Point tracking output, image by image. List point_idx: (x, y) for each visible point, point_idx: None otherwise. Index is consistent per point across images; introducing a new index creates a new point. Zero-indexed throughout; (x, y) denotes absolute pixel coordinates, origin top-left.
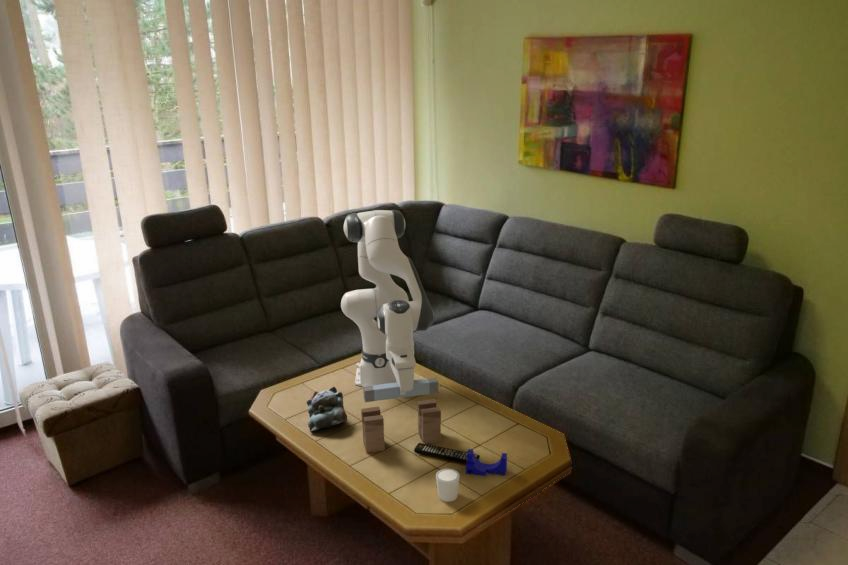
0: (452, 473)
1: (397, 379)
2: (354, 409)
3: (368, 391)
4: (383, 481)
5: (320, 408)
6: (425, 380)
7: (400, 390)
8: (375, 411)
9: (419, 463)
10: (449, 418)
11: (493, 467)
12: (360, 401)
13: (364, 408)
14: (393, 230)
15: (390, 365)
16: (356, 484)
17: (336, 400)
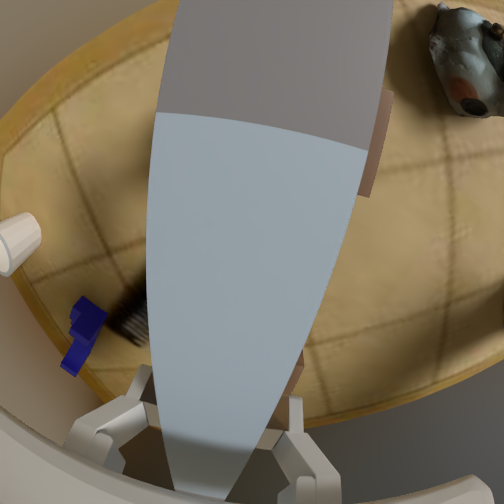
0: (2, 264)
1: (33, 482)
2: (497, 175)
3: (182, 9)
4: (93, 101)
5: (495, 24)
6: (205, 493)
7: (125, 395)
8: None
9: (135, 221)
10: (314, 365)
11: (77, 341)
12: None
13: (389, 110)
14: None
15: (458, 495)
16: (111, 31)
17: None
